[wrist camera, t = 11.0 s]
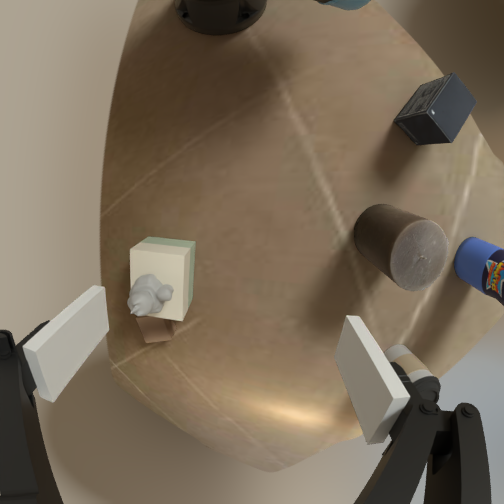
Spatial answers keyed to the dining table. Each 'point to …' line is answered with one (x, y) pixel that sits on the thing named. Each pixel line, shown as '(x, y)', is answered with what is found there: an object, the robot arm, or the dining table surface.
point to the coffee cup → (415, 371)
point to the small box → (436, 111)
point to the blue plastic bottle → (481, 266)
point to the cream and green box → (166, 271)
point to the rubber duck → (148, 295)
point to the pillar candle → (402, 245)
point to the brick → (156, 328)
